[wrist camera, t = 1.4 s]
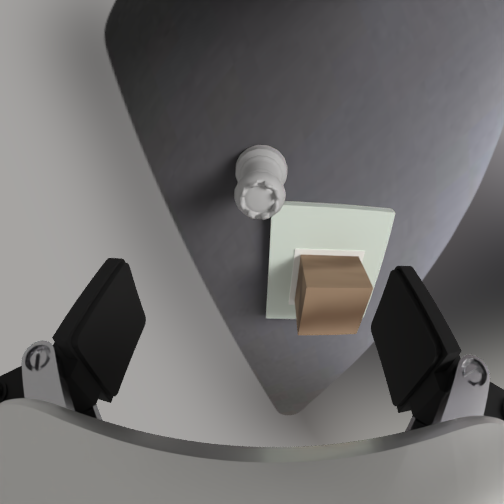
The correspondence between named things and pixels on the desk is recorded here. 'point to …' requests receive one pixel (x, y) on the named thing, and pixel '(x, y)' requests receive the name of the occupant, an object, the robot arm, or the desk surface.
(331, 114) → the desk surface
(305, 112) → the desk surface
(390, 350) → the robot arm
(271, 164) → the rook chess piece
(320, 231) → the build board
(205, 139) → the desk surface
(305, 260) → the walnut block
